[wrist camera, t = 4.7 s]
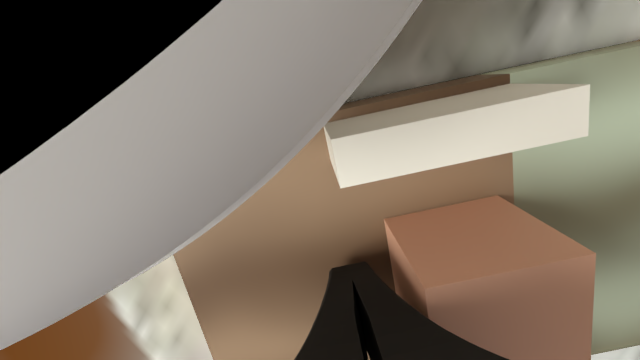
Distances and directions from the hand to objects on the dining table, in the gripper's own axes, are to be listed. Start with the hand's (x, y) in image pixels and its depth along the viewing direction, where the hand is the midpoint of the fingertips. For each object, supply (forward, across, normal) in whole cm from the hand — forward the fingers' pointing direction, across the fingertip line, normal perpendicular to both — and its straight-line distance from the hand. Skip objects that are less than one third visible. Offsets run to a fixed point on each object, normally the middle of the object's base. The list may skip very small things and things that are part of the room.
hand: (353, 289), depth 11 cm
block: (+1, -4, 0) cm, 4 cm away
